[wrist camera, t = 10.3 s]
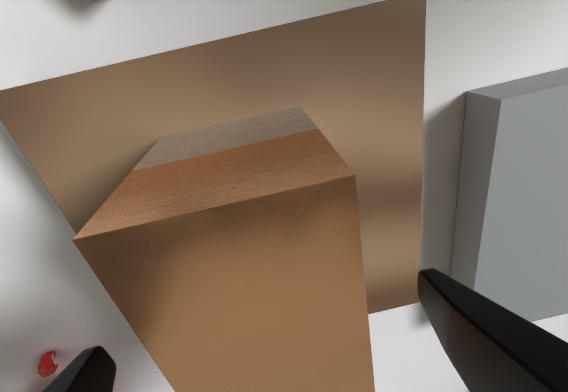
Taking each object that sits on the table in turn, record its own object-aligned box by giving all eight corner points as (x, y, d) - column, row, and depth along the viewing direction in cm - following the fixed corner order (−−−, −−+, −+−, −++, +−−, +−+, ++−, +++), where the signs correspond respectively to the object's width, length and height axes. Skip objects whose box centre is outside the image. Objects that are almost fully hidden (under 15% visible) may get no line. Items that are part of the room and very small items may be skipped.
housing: (300, 105, 10) (355, 174, 5) (331, 288, 15) (378, 427, 9) (160, 137, 10) (72, 239, 5) (232, 311, 15) (223, 463, 9)
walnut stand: (401, 276, 18) (418, 302, 16) (170, 330, 18) (162, 362, 16) (397, -2, 11) (426, -9, 9) (25, 85, 11) (-17, 94, 9)
